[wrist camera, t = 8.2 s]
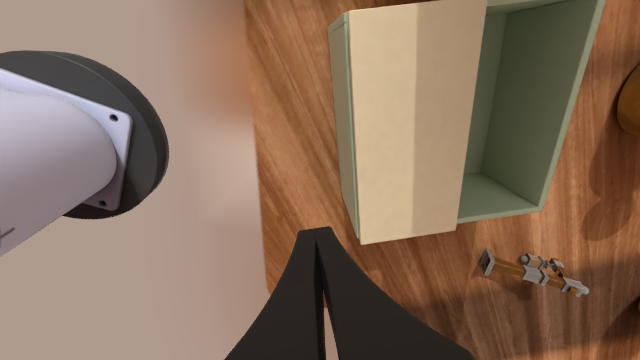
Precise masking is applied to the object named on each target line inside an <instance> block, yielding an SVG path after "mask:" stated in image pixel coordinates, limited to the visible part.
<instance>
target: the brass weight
mask: <svg viewBox="0 0 640 360" xmlns="http://www.w3.org/2000/svg"><path fill="white" fill-rule="evenodd" d="M617 119H618V122H619V124H620V126H621V127H622V129H623V130H624V131H626V132H627V133H629V134H631V135H634V136H639V137H640V64H639V65H638V66H637V67H636V69H635V70H634V71H633V72H632V74H631V75H630V77H629V78H628V80H627V81H626V83H625V85H624V87H623V89H622V91H621V93H620V96H619V99H618V104H617Z"/></svg>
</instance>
